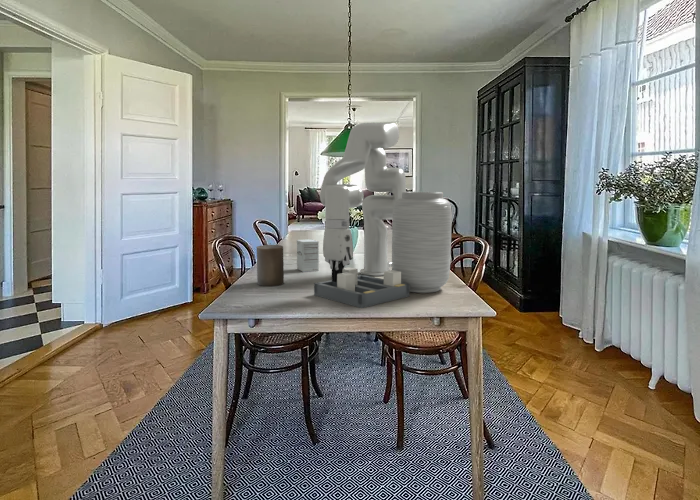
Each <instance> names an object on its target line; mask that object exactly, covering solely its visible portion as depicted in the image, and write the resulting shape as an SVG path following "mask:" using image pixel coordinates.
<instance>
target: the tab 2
mask: <svg viewBox="0 0 700 500" xmlns="http://www.w3.org/2000/svg"><path fill="white" fill-rule="evenodd" d="M389 270H390V271H384V275H383V279H384V285H389V286H394V285H399V284H401V272H400V271H394V270H392V269H389Z"/></svg>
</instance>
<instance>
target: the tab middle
mask: <svg viewBox="0 0 700 500" xmlns="http://www.w3.org/2000/svg"><path fill="white" fill-rule="evenodd" d="M346 272H347V273H352V274H355V285H357V284H358V275H359V273H358V268H355V267H344V269H342V273H346Z"/></svg>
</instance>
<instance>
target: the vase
mask: <svg viewBox="0 0 700 500" xmlns="http://www.w3.org/2000/svg"><path fill="white" fill-rule="evenodd" d="M452 213H453V211H452V204H451V202H450V201H449V200H448V199H446V198H444V192H442V191H406V192H402V198H401V199H398V200H397V201H396V202H395V203H394V207H393V220H392V226H391V227H392V229H391V232H392V233H391V262H392V267H391V270H394V271H400V272H401V283H405V284H410V287H409V293H418V294H420V293H421V294H425V293H426V294H429V293H435V292H439V291H441V289H442V288H441V287H444V286H445V285H446V283H447V282H448V281H449V279H450V271H451V255H452V251H451V250H452V225H453V224H452V220H453V218H452V216H453V215H452Z"/></svg>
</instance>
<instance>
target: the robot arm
mask: <svg viewBox="0 0 700 500" xmlns="http://www.w3.org/2000/svg"><path fill="white" fill-rule="evenodd" d="M399 138H400V129H399V126H398V124H397V123H395V122H392V121H391V122H388V121H387V122H384V121H383V122H363V123H359V124H356V125H354V126H353V127H352V128H351V129H350V132H349V134H348V138H347V143H346V147H345V148H344V149H345V150H344V152H343V153H344V154H343V157H342V158H341V159H340V160H338V161H336V163H334V164H333V165H332V166H331V167H330V168H328V170H327V171H326V173H325V174H324V177H323V181H322V184H321V187H320V192H319V200H320V202H321V204H322V205H323V206H324V208H325V210H324V211H325V212H324V213H325V218H324V220H325V221H324V222H325V223H324V225H325V228H324V231H323V239H322V240H323V241H322V255H323V257H324V261H325V262H326V263H328V265H329V266H330V267H329V268H330V269H331V280H332V282H337V274H340V273H342V269H344V268H345V267H346V266H349V265H350V264H351V262H350V261H351V260H353V259H354V244H353V243H354V242H353V235H352V229H350V225H351V223H350V208H351V209H352V208H358V207H360V206H361V208H362V209H361V210H362V217H363V224H364V225H363V229H364V230H363V231H364V232H363V236H364V237H363V238H364V239H363V243H364V244H363V256H364V257H363V268H361V269H359V273H360V275H366V276H370V277H377V276H378V277H379V276H380V277H382V276H383V277H384V271H390V270H391V269H390V268H392V261H391V262H390V261H388V247H389V245H388V244H389V238H388V236H389V232H388V227H387V226H386V224H385V223H384V221H383V220H392V221H393V207H394V203H395V202H396V201H397V200H398V199H401V198H402V192H407V184H406V183H407V178H406V174H405V171H404V170H403V168H400V167H388V166H387V153H386V152H385V150H384V149H388V148H391V147H394V146H396V144H397V143H398V141H399ZM363 170H364V182H365V188H366V189H367V190H368V191H369V192H371V193H372V192H373V193H374V192H375V193H392V195H389V194H386V195H385V194H372V195H368V196H365V197H364V194H365V193H364V191H363V189H362V187H360V186H359V185H357V184H341V183H340V184H338V183H339V181H341V180H344V178H347V177H350V176H351V175H354V174H357V173H360V172H361V171H363Z"/></svg>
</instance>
